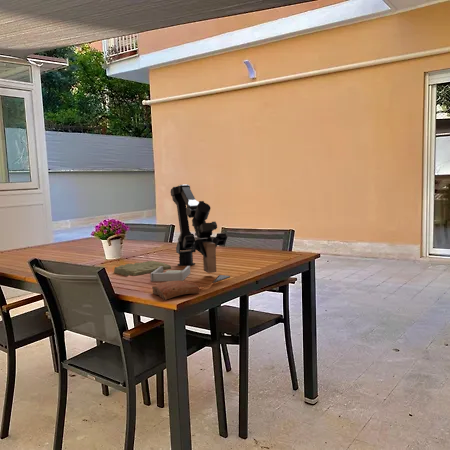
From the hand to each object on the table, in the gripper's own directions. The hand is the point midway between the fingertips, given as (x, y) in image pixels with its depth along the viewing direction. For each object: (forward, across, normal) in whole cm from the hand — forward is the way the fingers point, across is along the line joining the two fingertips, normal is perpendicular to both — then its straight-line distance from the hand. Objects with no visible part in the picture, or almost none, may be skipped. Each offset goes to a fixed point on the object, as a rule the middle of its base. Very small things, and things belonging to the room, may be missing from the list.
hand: (210, 256), depth 184 cm
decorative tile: (-15, -23, +30) cm, 40 cm away
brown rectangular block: (+4, 0, +6) cm, 7 cm away
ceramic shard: (+18, -20, -3) cm, 27 cm away
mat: (+6, 0, +8) cm, 10 cm away
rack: (0, -15, +13) cm, 20 cm away
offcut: (-3, -13, +15) cm, 20 cm away
